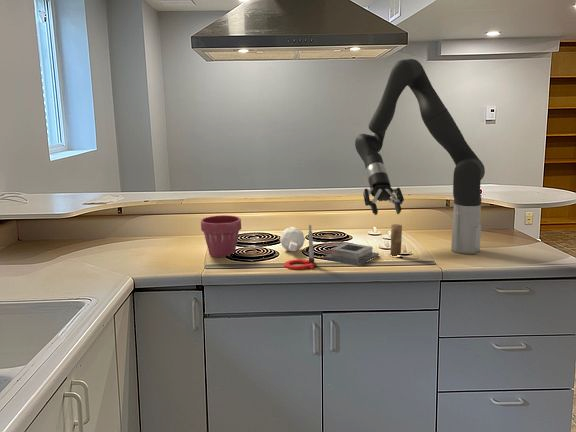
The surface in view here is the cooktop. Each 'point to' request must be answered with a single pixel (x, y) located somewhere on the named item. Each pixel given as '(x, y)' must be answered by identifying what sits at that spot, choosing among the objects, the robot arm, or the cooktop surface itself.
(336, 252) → the plate
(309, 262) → the tow hook
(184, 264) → the cooktop surface
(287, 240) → the perfume bottle
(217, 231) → the plant pot
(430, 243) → the cooktop surface
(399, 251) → the dowel pin
